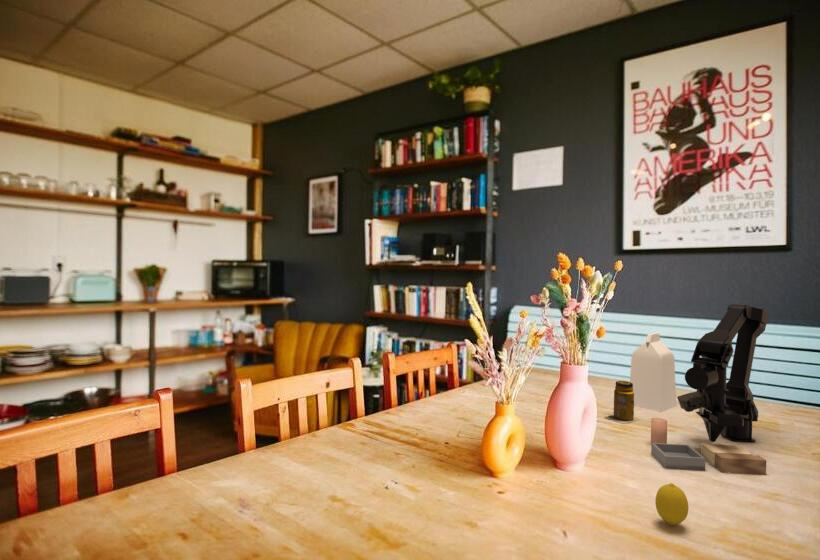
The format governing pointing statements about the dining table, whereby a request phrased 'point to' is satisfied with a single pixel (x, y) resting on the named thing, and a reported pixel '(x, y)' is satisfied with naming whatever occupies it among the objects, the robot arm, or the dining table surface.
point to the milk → (653, 375)
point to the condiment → (623, 403)
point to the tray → (678, 456)
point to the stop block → (740, 463)
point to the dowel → (658, 430)
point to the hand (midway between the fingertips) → (712, 441)
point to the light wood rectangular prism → (720, 451)
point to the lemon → (671, 504)
